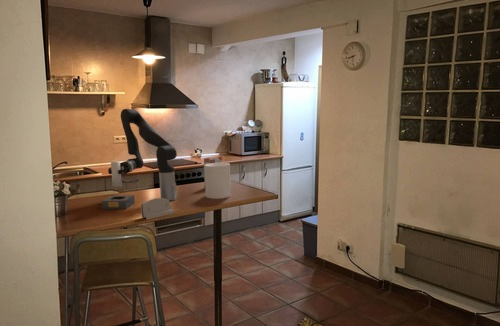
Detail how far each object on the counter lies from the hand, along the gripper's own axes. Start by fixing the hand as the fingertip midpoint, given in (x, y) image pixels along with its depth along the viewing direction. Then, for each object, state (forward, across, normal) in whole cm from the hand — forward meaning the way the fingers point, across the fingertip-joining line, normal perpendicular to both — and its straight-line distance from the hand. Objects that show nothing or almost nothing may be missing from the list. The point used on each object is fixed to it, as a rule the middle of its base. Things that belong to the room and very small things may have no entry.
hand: (114, 172), depth 231 cm
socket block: (-2, 0, +21) cm, 21 cm away
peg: (-3, 0, +8) cm, 9 cm away
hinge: (+18, +29, +21) cm, 40 cm away
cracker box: (-57, +47, +21) cm, 77 cm away
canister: (-26, +55, +21) cm, 65 cm away
